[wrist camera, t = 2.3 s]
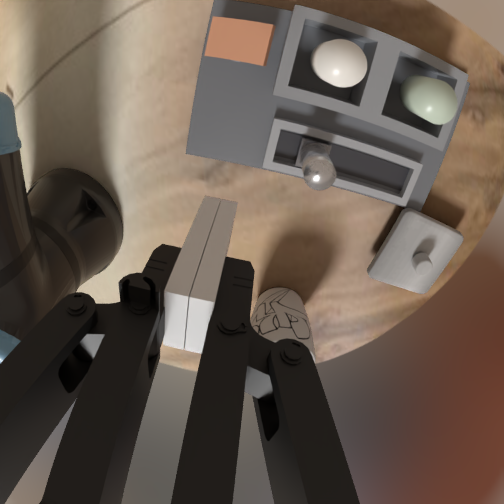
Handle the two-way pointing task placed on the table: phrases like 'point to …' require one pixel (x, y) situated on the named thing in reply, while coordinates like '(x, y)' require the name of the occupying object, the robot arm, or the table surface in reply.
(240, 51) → the block
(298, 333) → the mug
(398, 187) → the panel
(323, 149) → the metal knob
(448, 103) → the sage button
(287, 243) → the table surface
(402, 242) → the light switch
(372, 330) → the table surface
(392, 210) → the table surface
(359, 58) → the white button
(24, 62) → the table surface
